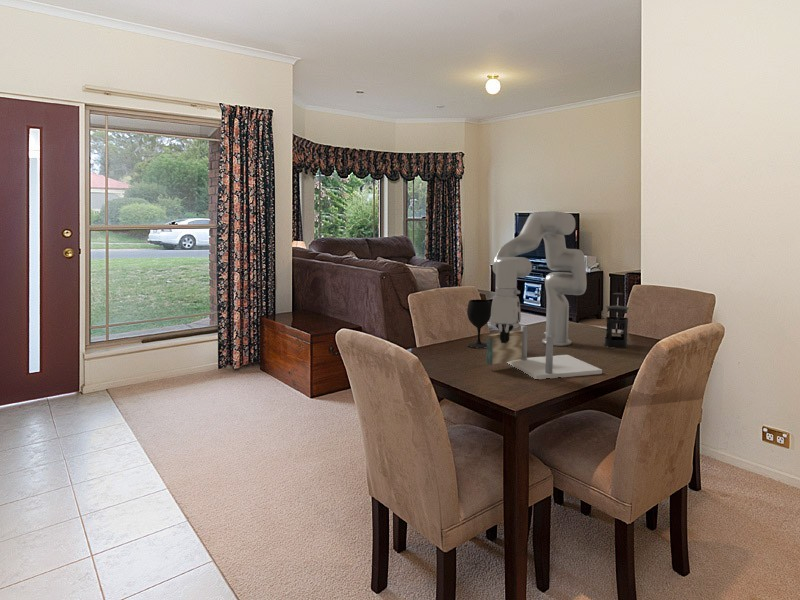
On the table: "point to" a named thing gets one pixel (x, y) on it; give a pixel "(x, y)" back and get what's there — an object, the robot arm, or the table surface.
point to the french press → (616, 340)
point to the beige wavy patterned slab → (504, 348)
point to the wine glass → (479, 317)
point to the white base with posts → (551, 363)
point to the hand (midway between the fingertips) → (504, 342)
